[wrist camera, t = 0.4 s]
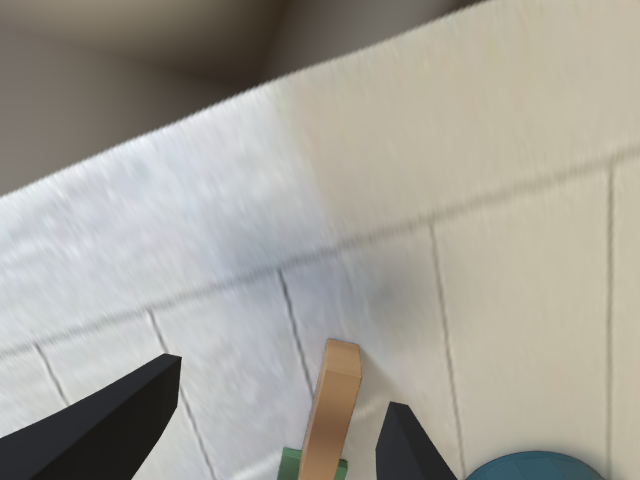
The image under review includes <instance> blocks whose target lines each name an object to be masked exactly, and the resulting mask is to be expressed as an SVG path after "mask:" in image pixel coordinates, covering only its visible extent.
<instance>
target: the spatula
mask: <svg viewBox="0 0 640 480" xmlns="http://www.w3.org/2000/svg"><path fill="white" fill-rule="evenodd" d="M361 379H362V370H361V360H360V351H359V345H356V344H351V343H346V342H342V341H337V340H332V339H328V340H327V344H326V348H325V352H324V357H323V361H322V365H321V370H320V374H319V378H318V383H317V387H316V391H315V396H314V400H313V404H312V409H311V413H310V417H309V422H308V426H307V430H306V435H305V439H304V443H303V448H302V451H297V450H293V449H288V448H284V449H283V453H282V458H281V463H280V468H279V472H278V477H277V480H344V479H345V476H346V472H347V469H348V466H347V461H343V460H340V456H341V452H342V449H343V445H344V441H345V438H346V434H347V431H348V427H349V423H350V420H351V416H352V412H353V409H354V405H355V401H356V398H357V394H358V390H359V387H360V383H361Z"/></svg>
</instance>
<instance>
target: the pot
mask: <svg viewBox="0 0 640 480" xmlns="http://www.w3.org/2000/svg"><path fill="white" fill-rule="evenodd" d="M466 480H605V479H604V478H602V477H601V476H600V475H599V474H598V473H597V472H596V471H595V470H594V469H593V468H591V467H590V466H589V465H587V464H585V463H583V462H582V461H580V460H577V459H575V458H572V457H570V456H566V455H563V454H558V453H552V452H540V451H536V452H523V453H516V454H512V455H508V456H504V457H502V458H499V459H496V460H494V461H492V462H490V463H487V464H486V465H484V466H482V467H481V468H479V469H478V470H476V471H475V472H474V473H473V474H471V475H470V476H469V477H468V478H467V479H466Z"/></svg>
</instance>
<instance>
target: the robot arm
mask: <svg viewBox="0 0 640 480" xmlns="http://www.w3.org/2000/svg"><path fill="white" fill-rule="evenodd" d="M181 360H182V357H180V356H175V355H170V354H166V353H164V354H162V355H160V356H159V357H157V358H155V359H153V360H152V361H150V362H148V363H146V364H145V365H143V366H141V367H140V368H138V369H136V370H134V371H133V372H131V373H129V374H128V375H126V376H124V377H122V378H121V379H119V380H117V381H115V382H114V383H112V384H110V385H108V386H106V387H105V388H103V389H101V390H99V391H97V392H96V393H94V394H92V395H90V396H88V397H86V398H84V399H82V400H80V401H78V402H76V403H74V404H73V405H71V406H69V407H67V408H65V409H63V410H61V411H59V412H57V413H55V414H53V415H51V416H49V417H47V418H45V419H42V420H40V421H38V422H36V423H34V424H32V425H29V426H27V427H25V428H23V429H20V430H18V431H16V432H14V433H11V434H9V435H7V436H4V437H2V438H0V480H131V479H132V478H133V476H134V475H135V473H136V472H137V471H138V469H139V468H140V466H141V465H142V463H143V462H144V460H145V459H146V458H147V456H148V455H149V453H150V452H151V450H152V449H153V447H154V446H155V444H156V443H157V441H158V440H159V438H160V437H161V435H162V433H163V431H164V430H165V428H166V426H167V424H168V423H169V421H170V419H171V417H172V415H173V413H174V411H175V409H176V408H177V403H178V392H179V381H180V370H181ZM376 473H377V480H458V479H457V478H456V477H455V475H454V474H453V472H452V471H451V470H450V468H449V467H448V465H447V464H446V462H445V461H444V459H443V458H442V457H441V455H440V454H439V452H438V451H437V449H436V448H435V446H434V445H433V443H432V442H431V440H430V438H429V437H428V435H427V434H426V432H425V431H424V429H423V428H422V426H421V425H420V423H419V421H418V420H417V418H416V417H415V415H414V414H413V412H412V411H411V409H410V408H409V406H408V405H405V404H400V403H396V402H391V401H390V403H389V406H388V410H387V413H386V416H385V420H384V423H383V426H382V429H381V433H380V436H379V439H378V443H377V446H376Z"/></svg>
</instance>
